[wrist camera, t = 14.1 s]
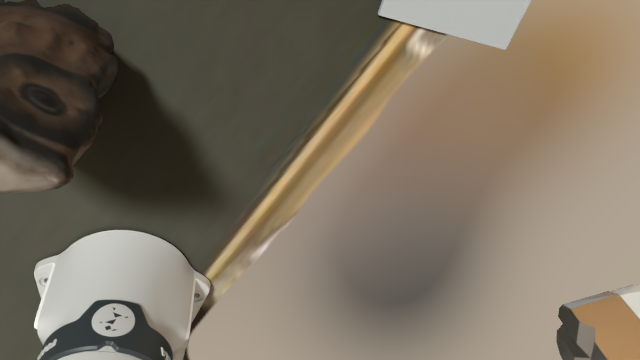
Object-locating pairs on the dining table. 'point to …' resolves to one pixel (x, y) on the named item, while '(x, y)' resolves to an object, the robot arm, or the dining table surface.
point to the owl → (49, 92)
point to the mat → (461, 17)
